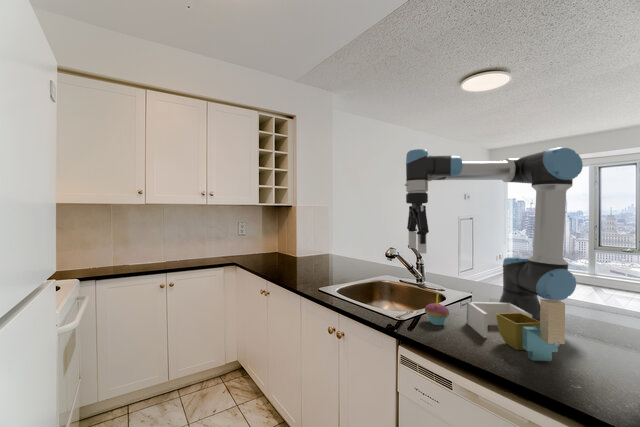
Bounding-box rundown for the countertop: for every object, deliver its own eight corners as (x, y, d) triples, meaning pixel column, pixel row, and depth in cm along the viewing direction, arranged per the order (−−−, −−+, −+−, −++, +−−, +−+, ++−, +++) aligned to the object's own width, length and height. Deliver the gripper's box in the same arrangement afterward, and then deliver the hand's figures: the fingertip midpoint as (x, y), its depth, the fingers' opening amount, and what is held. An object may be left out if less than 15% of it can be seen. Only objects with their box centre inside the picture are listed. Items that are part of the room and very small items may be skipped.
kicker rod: (552, 357, 80) (552, 295, 80) (572, 371, 73) (573, 303, 73) (522, 356, 81) (522, 294, 81) (539, 370, 74) (540, 302, 74)
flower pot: (495, 340, 93) (495, 313, 93) (520, 339, 94) (520, 312, 94) (515, 354, 84) (516, 323, 84) (543, 352, 85) (543, 322, 85)
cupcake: (451, 328, 103) (451, 295, 102) (426, 326, 104) (426, 293, 104) (445, 319, 111) (446, 288, 111) (422, 317, 113) (423, 287, 113)
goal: (509, 324, 106) (509, 302, 106) (531, 339, 94) (532, 314, 94) (466, 323, 107) (466, 301, 107) (483, 337, 95) (483, 313, 95)
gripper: (399, 194, 117) (399, 246, 117) (414, 190, 92) (415, 255, 93) (418, 194, 117) (418, 246, 117) (438, 190, 92) (438, 255, 92)
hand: (416, 250), depth 105 cm, fingers open, 13 cm apart
